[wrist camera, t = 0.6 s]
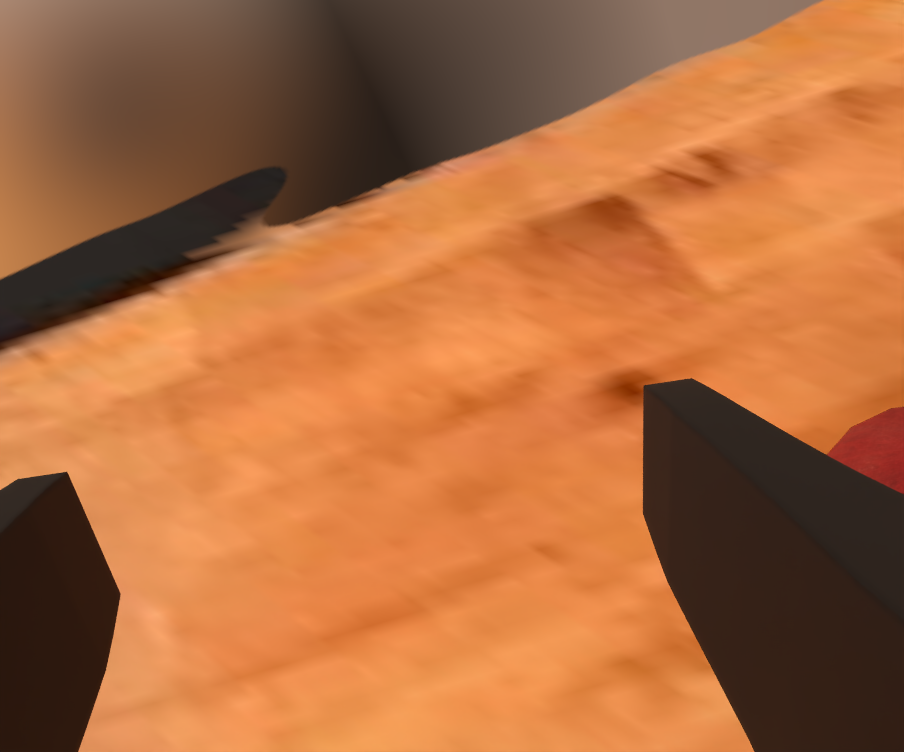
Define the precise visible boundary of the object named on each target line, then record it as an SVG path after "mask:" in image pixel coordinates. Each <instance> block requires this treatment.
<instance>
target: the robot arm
mask: <svg viewBox="0 0 904 752" xmlns="http://www.w3.org/2000/svg"><path fill="white" fill-rule="evenodd" d="M643 515H644V518H645V521H646V524H647V526H648V529H649V532H650V535H651V538H652V541H653V544H654V547H655V549H656V552H657V555H658V558H659V560H660V563H661V566H662V568H663V571H664V574H665V576H666V579H667V581H668V583H669V585H670V587H671V589H672V591H673V594H674V596H675V598H676V599H677V601H678V603H679V605H680V607H681V609H682V611H683V613H684V615H685V617H686V619H687V621H688V623H689V625H690V627H691V629H692V631H693V633H694V635H695V637H696V639H697V640H698V642H699V644H700V646H701V648H702V650H703V652H704V654H705V656H706V658H707V660H708V662H709V664H710V665H711V667H712V669H713V671H714V673H715V675H716V677H717V679H718V681H719V683H720V685H721V687H722V689H723V690H724V692H725V694H726V696H727V698H728V700H729V702H730V704H731V706H732V708H733V710H734V712H735V714H736V715H737V717H738V719H739V721H740V723H741V725H742V727H743V729H744V731H745V733H746V735H747V737H748V739H749V741H750V743H751V745H752V747H753V749H754V752H904V494H902V493H900V492H898V491H896V490H894V489H892V488H890V487H888V486H886V485H884V484H882V483H880V482H878V481H876V480H874V479H872V478H870V477H868V476H866V475H864V474H861V473H859V472H858V471H856V470H854V469H852V468H850V467H848V466H846V465H844V464H842V463H841V462H839V461H837V460H835V459H833V458H831V457H829V456H827V455H826V454H824V453H822V452H820V451H818V450H816V449H815V448H813V447H811V446H809V445H808V444H806V443H804V442H802V441H800V440H799V439H797V438H795V437H793V436H792V435H790V434H788V433H786V432H785V431H783V430H781V429H779V428H778V427H776V426H774V425H772V424H771V423H769V422H767V421H766V420H764V419H762V418H761V417H759V416H757V415H755V414H754V413H752V412H750V411H749V410H747V409H745V408H744V407H742V406H740V405H738V404H737V403H735V402H733V401H732V400H730V399H728V398H727V397H725V396H723V395H721V394H720V393H718V392H716V391H714V390H713V389H711V388H709V387H707V386H705V385H704V384H702V383H700V382H698V381H696V380H694V379H692V378H691V379H684V380H677V381H671V382H664V383H657V384H651V385H644V411H643ZM119 600H120V592H119V589H118V587H117V585H116V582H115V580H114V578H113V576H112V573H111V571H110V569H109V566H108V564H107V562H106V560H105V557H104V555H103V553H102V550H101V548H100V546H99V544H98V541H97V539H96V537H95V534H94V532H93V530H92V528H91V525H90V523H89V521H88V518H87V516H86V514H85V512H84V509H83V507H82V505H81V502H80V500H79V498H78V496H77V493H76V491H75V489H74V486H73V484H72V482H71V480H70V477H69V475H68V473H67V472H63V473H56V474H50V475H43V476H36V477H30V478H23V479H17V480H16V481H14V482H13V483H11V484H9V485H8V486H6V487H5V488H3V489H2V490H0V752H78V750H79V748H80V745H81V742H82V739H83V736H84V733H85V730H86V728H87V725H88V722H89V719H90V716H91V713H92V710H93V707H94V704H95V701H96V698H97V695H98V692H99V689H100V686H101V683H102V680H103V677H104V674H105V671H106V667H107V662H108V658H109V653H110V648H111V644H112V639H113V634H114V628H115V623H116V617H117V611H118V606H119Z"/></svg>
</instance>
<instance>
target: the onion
mask: <svg viewBox="0 0 904 752" xmlns="http://www.w3.org/2000/svg"><path fill="white" fill-rule="evenodd" d="M827 456H829V457H831V458H833V459H835V460H837V461H839V462H841V463H842V464H844V465H846V466H848V467H850V468H852V469H854V470H856V471H858V472H859V473H861V474H864V475H866V476H868V477H870V478H872V479H874V480H876V481H878V482H880V483H882V484H884V485H886V486H888V487H890V488H892V489H894V490H896V491H898V492H900V493H902V494H904V407H898V408H891V409H889V410H887V411H885V412H883V413H880V414H878V415H876V416H874V417H872V418H870V419H868V420H866V421H864V422H862V423H859V424H857V425H855V426H853V427H851V428H850V429H849V430H848V432H847V433H846V434H845V435H844V436H843V437H842V438H841V439H840V441H839V442H838V443H837V444H836V445H835V446H834V447H833V448H832V450H831V451H830V452H829V453H828V454H827Z"/></svg>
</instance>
